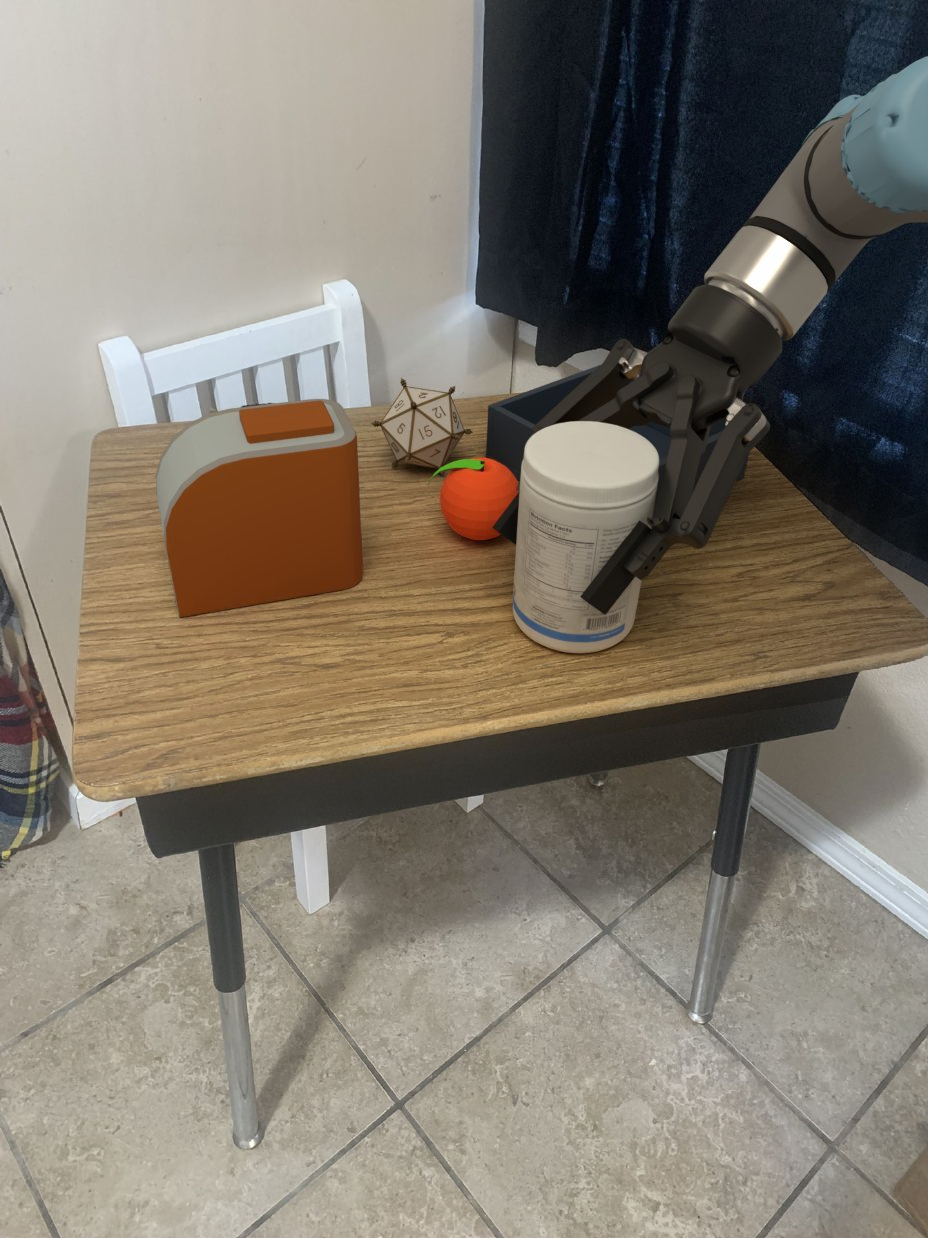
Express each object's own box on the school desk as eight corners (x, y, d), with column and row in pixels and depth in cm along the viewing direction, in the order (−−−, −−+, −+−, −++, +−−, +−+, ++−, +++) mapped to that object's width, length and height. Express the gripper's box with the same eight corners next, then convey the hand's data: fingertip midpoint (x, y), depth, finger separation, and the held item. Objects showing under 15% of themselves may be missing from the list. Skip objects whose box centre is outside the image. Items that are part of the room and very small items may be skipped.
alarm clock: (344, 530, 85) (336, 384, 76) (368, 586, 78) (362, 433, 70) (168, 557, 81) (139, 406, 72) (179, 618, 74) (148, 460, 66)
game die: (404, 494, 97) (362, 399, 95) (483, 459, 97) (442, 363, 95) (401, 496, 88) (355, 392, 87) (488, 458, 88) (443, 353, 86)
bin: (744, 477, 94) (757, 420, 90) (620, 540, 85) (629, 480, 81) (609, 412, 104) (615, 358, 100) (485, 461, 95) (487, 405, 91)
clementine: (421, 551, 83) (421, 477, 78) (432, 508, 88) (433, 437, 84) (516, 559, 82) (521, 485, 78) (521, 515, 87) (526, 444, 83)
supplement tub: (540, 570, 81) (555, 406, 72) (650, 604, 78) (680, 436, 68) (490, 635, 74) (499, 463, 65) (608, 675, 71) (635, 499, 62)
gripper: (889, 400, 64) (675, 669, 66) (654, 295, 78) (485, 520, 81) (860, 338, 58) (627, 635, 61) (612, 237, 72) (432, 481, 75)
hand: (546, 569), depth 71 cm, fingers closed on supplement tub, 9 cm apart
